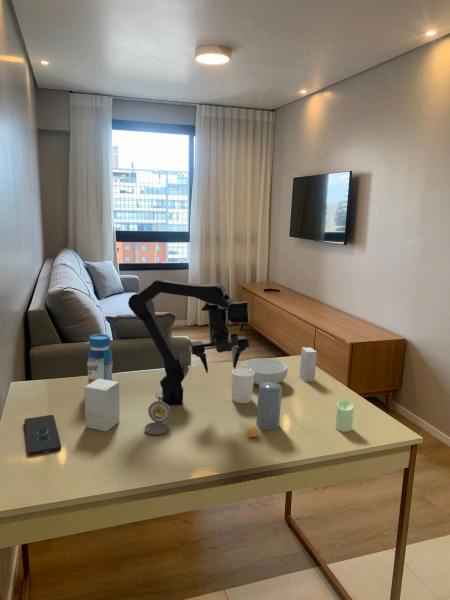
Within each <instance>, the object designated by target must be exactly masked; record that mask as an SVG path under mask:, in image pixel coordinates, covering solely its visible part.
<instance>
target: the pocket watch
mask: <svg viewBox="0 0 450 600" xmlns="http://www.w3.org/2000/svg"><path fill="white" fill-rule="evenodd" d="M157 395H161V396H158V397H157ZM162 395H163V394H162V392H161V393H160V392H158V393H156V394H155V398H156V399H157V400H156V401H153V402H152V403H151V404H150V405H149V407H148V410H147V411H148V416H149V418H150V419H151V420H152V421H153V422H149V423H148V424H146V425H145V427H144V432H146V433H147V434H149V435H153V436H158V435H164V434H165V433H166V432H167V431H168V429H169V427H168V425H167V424H166V423H165V422H167V421H168V420H169V419H170V417H171V408H170V405H167V404H166V403H165V402H162V399H163V398H164V395H163V398H161V397H162Z"/></svg>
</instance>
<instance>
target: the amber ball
mask: <svg viewBox="0 0 450 600" xmlns="http://www.w3.org/2000/svg"><path fill="white" fill-rule="evenodd" d="M258 429H259V428H257V427H255V426H250V427H248V429H247V434H248V436H249V437H250V438H255V437H257V436H258V435H259V430H258Z"/></svg>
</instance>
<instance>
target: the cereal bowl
mask: <svg viewBox="0 0 450 600" xmlns="http://www.w3.org/2000/svg"><path fill="white" fill-rule="evenodd" d="M242 368H246V369H250V370H253V371H254V372H255V375H254V384H255V385H257V386H260V384H261V383H264V382H273V383H277V384H280V383H281V382H283V381H284V380H285V379H286V377H287V376H288V369H289V368H288V364H287V363H285V362H283V361H281V360H279V359H278V360H277V359H274V358H263V357H262V358H259V357H258V358H250V359H248V360H246V361H244V363H243V367H242Z"/></svg>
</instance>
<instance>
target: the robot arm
mask: <svg viewBox="0 0 450 600" xmlns="http://www.w3.org/2000/svg"><path fill="white" fill-rule="evenodd" d="M161 293H162V294H169V295H175V296H183V297H190V298H196V299H198V300H200V301H202V302H205V304H204V305H203V307H202V308H201V311H202V312H205V311H206V312H207V315H208V331H209V342H205V343H204V342H202V340H198V341H197V340H196V341H190V343H189V344H188V350H189V352H190V354H192V356H193V355H195V356H196V357H199V359H200V362H201V363H202V365H203V368H204V370H205V373H207V374H208V373H209V366H208V362H207V353H205V352H206V350H211V349H216V353H224V352H225V353H226V352H232V368H233V369H237V365H238V361H239V358H240V355H241V354H242V352H243V351H246V348H247V349H248V348H250V341H249V339H248V338H247V337H246V336H245V335H238V334H237V333H232V334H229V328H228V321H229V322H231V324H250V323H251V310H250V305H249V301H244V300H243V301H235V302H234V301H233V299H231V297H230V295H228V294H227V290H226V287H225V286H224V285H223V283H204V284H201V283H200V284H198V283H197V284H195V283H188V282H183V281H182V282H181V281H173V280H168V279H167V280H166V279H163V278H158V279H157V280H154V281H152V283H151V284H150V285H149V286H147V287H146V288H145V289H143V290H140V291H138V292H136V293H134V294H131V296H129V299H128V302H127V303H128V307H129V309H130V310H131V312H132V313H133V314H134V315H135V316H136V317H137V319H139V320H141V322H142V323H143V325H144V326H145V328H146V330H147V331H148V334H149V335H150V338H151V339H152V341H153V343H154V345H155V346H156V349H157V351H158V352H159V355H160V356H161V357H162V360H163V366H164V367H163V368H164V372H165V375H164V376H163V378H161V379H160V382H159V384H160V386H161V388H162V389H161V393H162V394H163V395H164V398H163V395H162V394H161V396H160V397H161V398H163V399H161V401H162V402H165V403H166V404H167V405H168V406H174V405H175V406H176V405H182V404H183V402H182V401H184V387H183V386H182V382H183V381H184V379H185V378H186V377H187V375H188V373H189V369H190V367H189V364H190V362H188V361H187V359H186V356H185V354H184V353H181V355H179V354H178V353H177V352H176V351H175V349H174V347H173V345H172V343H171V341H170V340H169V338H168V336H167V334H166V332H165V330H164V329H163V326H162V324H161V323H160V321H159V319H158V317H157V315H156V310H155V309H156V308H155V304H154V301H153V300H154V299H155V298H156V297H157V296H158V295H160V294H161ZM227 320H228V321H227Z"/></svg>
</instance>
